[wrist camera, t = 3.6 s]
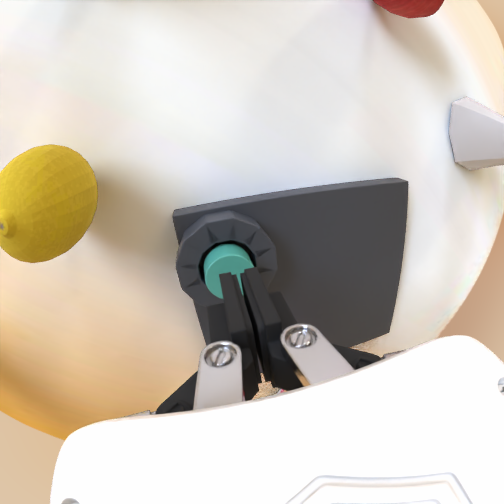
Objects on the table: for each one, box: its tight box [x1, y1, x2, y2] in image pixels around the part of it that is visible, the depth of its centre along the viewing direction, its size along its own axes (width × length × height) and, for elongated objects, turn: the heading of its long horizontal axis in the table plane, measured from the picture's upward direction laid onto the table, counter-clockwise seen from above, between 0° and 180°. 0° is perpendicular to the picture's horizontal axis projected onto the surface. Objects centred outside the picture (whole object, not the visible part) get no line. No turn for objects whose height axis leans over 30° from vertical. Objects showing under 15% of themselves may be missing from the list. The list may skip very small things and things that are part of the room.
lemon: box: [0, 145, 98, 263], centre depth 10 cm, size 6×6×8 cm
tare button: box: [204, 244, 254, 299], centre depth 15 cm, size 3×3×2 cm
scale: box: [173, 178, 408, 373], centre depth 19 cm, size 16×14×3 cm
